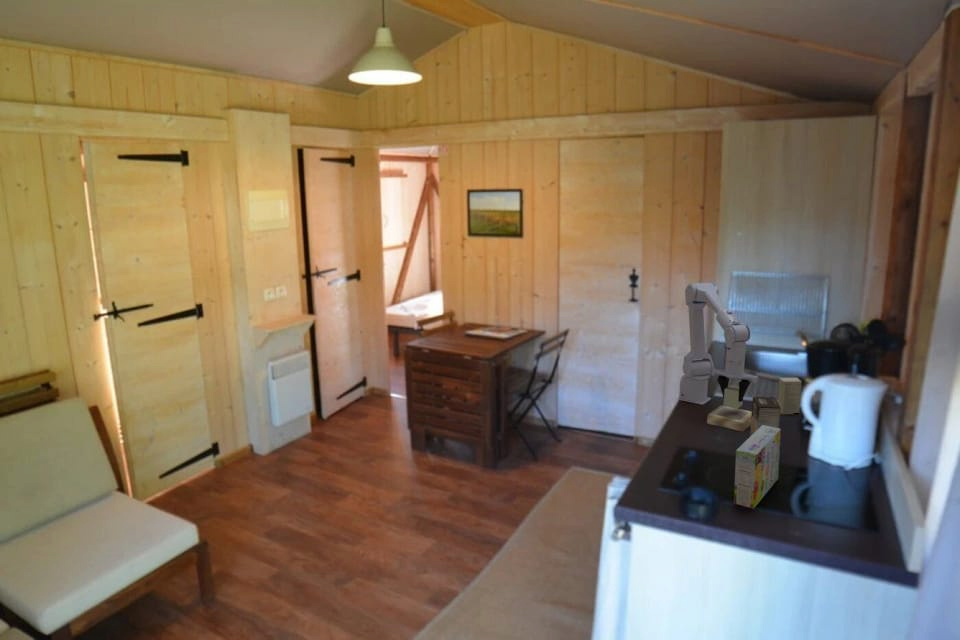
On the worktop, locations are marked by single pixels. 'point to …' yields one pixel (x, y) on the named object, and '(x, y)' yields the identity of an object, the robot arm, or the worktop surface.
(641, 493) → the worktop surface
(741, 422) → the base block
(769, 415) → the coffee box
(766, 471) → the snack box
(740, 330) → the robot arm
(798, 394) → the skincare box
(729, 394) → the green block
